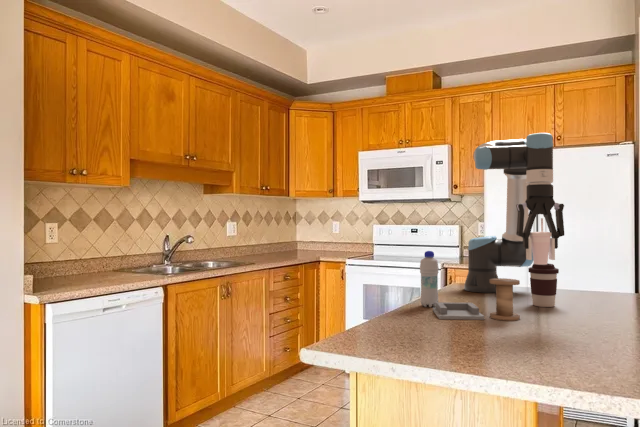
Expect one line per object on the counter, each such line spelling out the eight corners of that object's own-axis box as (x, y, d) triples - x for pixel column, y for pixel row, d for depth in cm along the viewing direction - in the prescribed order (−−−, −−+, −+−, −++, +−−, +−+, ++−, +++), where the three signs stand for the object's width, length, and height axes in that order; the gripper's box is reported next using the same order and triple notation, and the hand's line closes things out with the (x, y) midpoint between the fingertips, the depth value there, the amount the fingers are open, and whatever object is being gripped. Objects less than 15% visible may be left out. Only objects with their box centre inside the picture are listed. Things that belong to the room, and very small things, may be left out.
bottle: (437, 304, 180) (437, 250, 180) (440, 308, 173) (439, 251, 173) (419, 304, 180) (418, 250, 180) (421, 307, 174) (420, 251, 174)
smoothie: (554, 265, 146) (554, 218, 146) (531, 264, 147) (531, 218, 148) (548, 263, 153) (548, 218, 153) (527, 262, 154) (526, 218, 154)
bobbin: (486, 314, 161) (486, 278, 161) (514, 315, 160) (514, 278, 160) (494, 320, 152) (493, 282, 152) (523, 321, 151) (523, 282, 151)
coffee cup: (564, 308, 171) (563, 265, 171) (535, 308, 172) (535, 265, 172) (551, 303, 181) (551, 262, 181) (524, 303, 181) (524, 262, 181)
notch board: (432, 310, 169) (432, 301, 169) (474, 310, 168) (474, 302, 168) (439, 319, 155) (439, 309, 155) (484, 319, 154) (484, 310, 154)
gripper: (511, 183, 147) (512, 260, 147) (577, 183, 146) (578, 260, 146) (504, 185, 155) (504, 258, 154) (566, 184, 153) (567, 258, 153)
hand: (540, 259), depth 150 cm, fingers closed on smoothie, 6 cm apart
